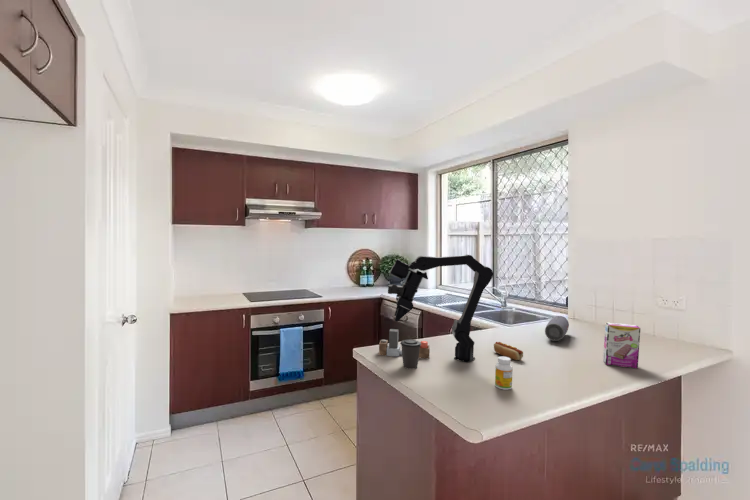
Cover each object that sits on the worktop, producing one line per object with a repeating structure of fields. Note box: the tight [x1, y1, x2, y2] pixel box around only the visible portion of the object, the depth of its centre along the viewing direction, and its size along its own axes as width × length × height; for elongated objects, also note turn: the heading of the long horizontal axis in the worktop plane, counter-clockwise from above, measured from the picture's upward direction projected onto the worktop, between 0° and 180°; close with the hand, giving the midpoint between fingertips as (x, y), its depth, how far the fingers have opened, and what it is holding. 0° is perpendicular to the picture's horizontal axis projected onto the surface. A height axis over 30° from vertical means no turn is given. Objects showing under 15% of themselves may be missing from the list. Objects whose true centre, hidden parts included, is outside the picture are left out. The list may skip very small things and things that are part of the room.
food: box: [493, 341, 524, 361], centre depth 155 cm, size 14×6×5 cm, turn 27°
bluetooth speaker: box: [544, 315, 570, 342], centre depth 185 cm, size 23×9×10 cm, turn 147°
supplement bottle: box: [494, 355, 513, 391], centre depth 123 cm, size 5×5×10 cm
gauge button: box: [420, 340, 429, 349], centre depth 153 cm, size 3×3×4 cm
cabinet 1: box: [378, 339, 389, 357], centre depth 155 cm, size 3×5×6 cm, turn 171°
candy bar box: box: [602, 321, 641, 369], centre depth 146 cm, size 11×5×16 cm, turn 71°
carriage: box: [386, 328, 401, 357], centre depth 154 cm, size 5×6×10 cm
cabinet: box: [418, 344, 431, 359], centre depth 153 cm, size 5×5×4 cm
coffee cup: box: [399, 338, 421, 370], centre depth 140 cm, size 8×8×10 cm
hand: (395, 318), depth 151 cm, fingers open, 9 cm apart
